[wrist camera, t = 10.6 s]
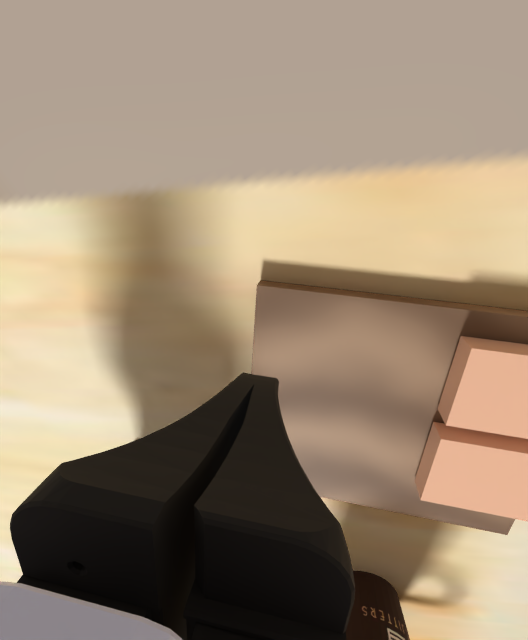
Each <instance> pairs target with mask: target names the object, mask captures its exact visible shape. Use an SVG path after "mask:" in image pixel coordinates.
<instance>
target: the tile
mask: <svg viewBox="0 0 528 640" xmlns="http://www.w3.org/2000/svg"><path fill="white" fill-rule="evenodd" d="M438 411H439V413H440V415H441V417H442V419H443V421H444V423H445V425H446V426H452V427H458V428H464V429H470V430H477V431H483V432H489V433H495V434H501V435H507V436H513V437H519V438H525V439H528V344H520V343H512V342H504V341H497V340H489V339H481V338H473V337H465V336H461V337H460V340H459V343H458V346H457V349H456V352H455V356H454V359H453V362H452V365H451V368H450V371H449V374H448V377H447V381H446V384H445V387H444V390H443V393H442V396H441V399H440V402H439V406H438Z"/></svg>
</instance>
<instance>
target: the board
mask: <svg viewBox="0 0 528 640" xmlns="http://www.w3.org/2000/svg"><path fill="white" fill-rule="evenodd" d="M461 336H465V337H473V338H481V339H489V340H497V341H504V342H512V343H520V344H528V311H523V310H514V309H506V308H497V307H488V306H480V305H471V304H462V303H454V302H445V301H436V300H427V299H419V298H410V297H401V296H393V295H384V294H375V293H366V292H358V291H349V290H340V289H332V288H323V287H314V286H306V285H297V284H288V283H279V282H271V281H262V280H261V281H260V282H259V283H258V285H257V294H256V310H255V326H254V342H253V358H252V374H254V375H260V376H267V377H273V378H277V379H278V381H279V388H278V399H279V405H280V410H281V415H282V419H283V422H284V426H285V429H286V432H287V435H288V438H289V440H290V443H291V445H292V448H293V450H294V452H295V454H296V456H297V459H298V461H299V463H300V465H301V467H302V468H303V470H304V472H305V474H306V475H307V477H308V479H309V481H310V482H311V484H312V486H313V487H314V489H315V490H316V492H317V493H318V495H319V496H320V497H324V498H328V499H333V500H338V501H343V502H348V503H353V504H358V505H363V506H368V507H373V508H377V509H382V510H387V511H392V512H397V513H402V514H407V515H412V516H417V517H422V518H427V519H431V520H436V521H441V522H446V523H451V524H456V525H461V526H466V527H471V528H476V529H480V530H485V531H490V532H495V533H500V534H505V535H507V534H508V532H509V530H510V528H511V526H512V524H513V522H514V520H515V519H513V518H508V517H503V516H498V515H493V514H488V513H483V512H478V511H473V510H467V509H462V508H457V507H452V506H447V505H442V504H437V503H432V502H427V501H422V500H420V497H419V494H418V490H417V487H416V484H415V477H416V474H417V471H418V468H419V465H420V462H421V459H422V455H423V452H424V449H425V446H426V443H427V440H428V437H429V434H430V430H431V427H432V424H433V422H438V423H444V421H443V419H442V417H441V415H440V413H439V411H438V406H439V402H440V399H441V396H442V393H443V390H444V387H445V384H446V381H447V377H448V374H449V371H450V368H451V365H452V362H453V359H454V356H455V352H456V349H457V346H458V343H459V340H460V337H461ZM444 424H445V423H444Z"/></svg>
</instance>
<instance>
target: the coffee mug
mask: <svg viewBox="0 0 528 640" xmlns="http://www.w3.org/2000/svg"><path fill="white" fill-rule="evenodd" d="M353 575H354V582H355V599H354V604H353V608H352V611H351V615H350V618H349V622H348V625H347V629H346V640H410V639H409V635H408V631H407V628H406V624H405V620H404V617H403V613H402V609H401V606H400V602H399V598H398V595H397V592H396V590H395V589H394V587H393V586H392V585H391V584H390V583H388V582H387V581H386V580H384V579H383V578H381V577H379V576H376V575H374V574H371V573H367V572H361V571H353Z"/></svg>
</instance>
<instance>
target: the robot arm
mask: <svg viewBox="0 0 528 640" xmlns="http://www.w3.org/2000/svg"><path fill="white" fill-rule="evenodd" d="M278 388H279V381H278V379H277V378H273V377H267V376H260V375H254V374H248V373H242V374H241V375H240V376H238V377H237V378H236V379H235V380H234V381H232V382H231V383H230V384H229V385H228V386H227V387H225V388H224V389H223V390H222V391H220V392H219V393H218V394H217V395H215V396H214V397H213V398H211V399H210V400H209V401H207V402H206V403H205V404H203V405H202V406H200V407H199V408H197V409H196V410H194V411H193V412H192V413H190V414H188V415H187V416H185V417H183V418H182V419H180V420H178V421H176V422H174V423H173V424H171V425H169V426H167V427H165V428H163V429H161V430H158V431H156V432H154V433H152V434H150V435H147V436H145V437H143V438H141V439H138V440H136V441H133V442H130V443H128V444H125V445H122V446H120V447H117V448H114V449H111V450H108V451H105V452H101V453H98V454H94V455H91V456H87V457H83V458H80V459H76V460H73V461H69V462H64V463H62V464H61V465H59V466H58V467H57V468H56V469H55V470H54V471H53V472H52V473H51V474H50V475H49V476H48V477H47V478H46V479H45V480H44V481H43V482H42V483H41V484H40V485H39V486H38V487H37V488H36V489H35V490H34V491H33V493H32V494H31V495H30V496H29V497H28V498H27V499H26V500H25V501H24V502H23V503H22V504H21V505H20V506H19V507H18V508H17V509H16V511H15V512H14V513H13V514H12V518H11V522H10V530H11V536H12V541H13V544H14V547H15V550H16V553H17V556H18V559H19V563H20V566H21V569H22V572H23V575H22V577H21V578H20V579H19V580H18V582H17V583H11V582H0V640H346V629H347V625H348V622H349V618H350V615H351V611H352V608H353V604H354V599H355V582H354V575H353V570H352V565H351V560H350V556H349V552H348V548H347V544H346V541H345V538H344V535H343V531H342V528H341V525H340V523H339V522H338V521H337V519H336V518H335V517H334V516H333V514H332V513H331V512H330V510H329V509H328V508H327V506H326V505H325V504H324V502H323V501H322V499H321V498H320V496H319V495H318V493H317V492H316V490H315V489H314V487H313V486H312V484H311V482H310V481H309V479H308V477H307V475H306V474H305V472H304V470H303V468H302V467H301V465H300V463H299V461H298V459H297V456H296V454H295V452H294V450H293V448H292V445H291V443H290V440H289V438H288V435H287V432H286V429H285V426H284V422H283V419H282V415H281V410H280V405H279V399H278Z"/></svg>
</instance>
